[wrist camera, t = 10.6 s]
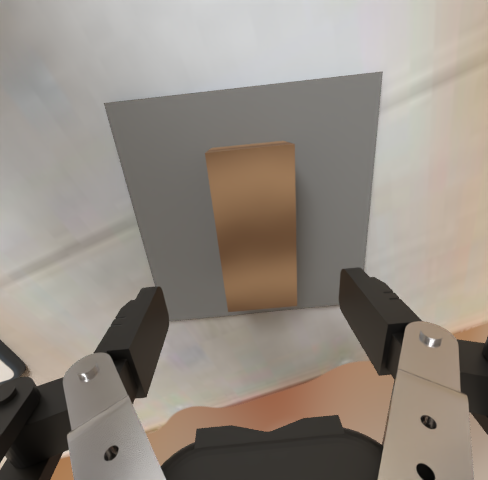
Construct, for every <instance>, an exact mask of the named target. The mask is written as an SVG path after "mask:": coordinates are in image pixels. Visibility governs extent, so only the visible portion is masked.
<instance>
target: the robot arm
mask: <svg viewBox="0 0 488 480" xmlns="http://www.w3.org/2000/svg"><path fill="white" fill-rule="evenodd" d="M339 305H340V309H341V311H342V313H343V315H344V317H345V318H346V320H347V322H348V324H349V325H350V327H351V329H352V330H353V332H354V334H355V335H356V337H357V339H358V341H359V342H360V344H361V346H362V347H363V349H364V351H365V352H366V354H367V356H368V358H369V359H370V361H371V363H372V364H373V365H374V368H375V369H376V371H377V373H378V375H390V374H391V375H392V376H393V378H394V385H393V391H392V396H391V401H390V406H389V411H388V417H387V422H386V427H385V432H384V437H383V442H382V445H381V444H380V443H378V442H377V441H375V440H373V439H372V438H370V437H368V436H366V435H364V434H362V433H359V432H357V431H354V430H350V429H346V428H343V427H342V425H341V422H340V419H339V416H338V415H334V416H323V417H313V418H303V419H301V420H298V421H296V422H293V423H291V424H288V425H286V426H283V427H281V428H278V429H276V430H273V431H270V432H264V431H258V430H253V429H248V428H242V427H237V426H222V427H211V428H201V429H197V431H196V439H195V442H194V443H192V444H190V445H188V446H186V447H184V448H182V449H181V450H179V451H178V452H176V453H175V454H173V455H172V456H171V457H170V458H169V459H168V460H167V461H165V462H164V463H163V465H162V466H161V467H160V465H159V463H158V460H157V458H156V456H155V454H154V451H153V449H152V447H151V445H150V442H149V440H148V438H147V436H146V433H145V431H144V429H143V427H142V425H141V422H140V420H139V418H138V416H137V413H136V411H135V409H134V407H133V402H134V400H135V398H145V397H147V394H148V391H149V387H150V384H151V381H152V378H153V375H154V372H155V369H156V365H157V362H158V359H159V356H160V353H161V350H162V347H163V344H164V340H165V337H166V334H167V331H168V327H169V314H168V310H167V306H166V302H165V298H164V295H163V291H162V288H161V287H160V286H157V287H147V288H142V289H141V290H140V292H139V294H138V296H137V298H136V299H135V300H130V301H129V302H128V303H127V304H126V305H125V306H123V307H122V308H121V309H120V311H119V313H118V314H117V316H116V319H114V321H113V322H112V324H111V327H109V329H108V331H107V332H106V334H105V335H104V337H103V339H102V340H101V342H100V344H99V345H98V347H97V349H96V350H95V352H94V353H93V354H90V355H88V356H85V357H83V358H82V359H80V360H78V361H77V362H76V363H74V364H73V365H72V366H71V367H70V368H69V369H68V371H67V372H66V373H65V375H64V377H63V378H60V379H57V380H54V381H51V382H48V383H46V384H43V385H40V386H36V385H35V383H34V381H33V379H31V378H29V377H19V378H15V379H12V380H10V381H7V382H5V383H3V384H2V385H0V462H1V461H2V459H3V458H4V456H6V458H7V460H6V462H5V463H4V465H3V466H2V468H1V470H0V480H50V479H51V477H52V474H53V473H54V470H55V468H56V466H57V464H58V462H59V460H60V458H61V456H62V453H63V452H64V451H67V450H69V453H70V459H71V464H72V470H73V476H74V480H474V473H473V460H472V446H471V432H470V418H469V412H471V414H472V415H473V416H474V418H475V419H476V420H477V421H478V423H479V424H480V425H481V426H482V428H483V429H484V431H485V432H486V433H487V434H488V337H487V340H486V342H485V343H478V342H471V341H464V340H457V339H456V338H455V337H454V336H453V335H452V334H451V333H450V332H449V331H447V330H446V329H444V328H442V327H440V326H438V325H436V324H433V323H429V322H423V321H421V319H420V318H419V317H418V316H417V315H416V314H415V313H414V312H413V311H412V310H411V309H410V308H409V307H408V306H407V305H406V304H405V303H404V302H403V301H402V300H401V299H399V297H398V296H397V295H396V294H395V293H393V291H392V290H391V289H390V288H389V287H388V286H387V285H386V284H385V283H384V282H382V281H380V280H378V279H376V278H375V277H371V278H370V277H369V276H368V275H367V274H366V273H365V272H364V271H363V269H362V268H360V267H356V268H346V269H342V270H341V273H340V286H339Z"/></svg>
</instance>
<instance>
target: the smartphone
mask: <svg viewBox="0 0 488 480" xmlns="http://www.w3.org/2000/svg"><path fill="white" fill-rule="evenodd" d="M25 369H26V366H25V364H24V362H23V361H22V360H21V359H20V358H19V357H18V356H17V355H16V354H15V353H14V352H12V351H11V350H10V349H9V348H8V347H7V346H6V345H5V344H4V343H3V342H2V341H1V340H0V385H2V384H3V383H5V382H7V381H10V380H12V379H15V378H19V377H20V376H21V375H22V374H23V372H24V371H25Z"/></svg>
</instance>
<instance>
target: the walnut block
mask: <svg viewBox="0 0 488 480" xmlns="http://www.w3.org/2000/svg"><path fill="white" fill-rule="evenodd" d="M205 157H206V164H207V171H208V178H209V185H210V192H211V198H212V205H213V212H214V219H215V226H216V233H217V239H218V246H219V253H220V260H221V267H222V274H223V281H224V287H225V294H226V301H227V308H228V312H236V311H247V310H258V309H269V308H280V307H291V306H297V260H296V191H295V144H293V143H289V142H286V141H275V142H266V143H256V144H246V145H236V146H226V147H216V148H211V149H209V150H208V151H207V152H206V153H205Z"/></svg>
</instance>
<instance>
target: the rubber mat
mask: <svg viewBox="0 0 488 480" xmlns="http://www.w3.org/2000/svg"><path fill="white" fill-rule="evenodd" d="M382 73H383V72H375V73H366V74H357V75H348V76H339V77H331V78H322V79H313V80H304V81H295V82H287V83H278V84H269V85H260V86H252V87H243V88H234V89H225V90H216V91H208V92H199V93H190V94H181V95H172V96H164V97H155V98H146V99H137V100H128V101H120V102H111V103H104V105H105V109H106V112H107V116H108V120H109V123H110V127H111V130H112V134H113V137H114V141H115V144H116V148H117V152H118V155H119V159H120V162H121V166H122V169H123V173H124V176H125V180H126V184H127V187H128V191H129V194H130V198H131V201H132V205H133V208H134V212H135V216H136V219H137V223H138V226H139V230H140V233H141V237H142V241H143V244H144V248H145V251H146V255H147V258H148V262H149V265H150V269H151V273H152V276H153V280H154V283H155V287H157V286H160V287H161V288H162V291H163V295H164V298H165V302H166V306H167V310H168V314H169V321H179V320H189V319H199V318H209V317H220V316H230V315H240V314H250V313H261V312H271V311H281V310H291V309H302V308H312V307H322V306H332V305H339V286H340V273H341V270H342V269H346V268H356V267H360V268H362V269H363V271H364V263H365V253H366V242H367V232H368V221H369V210H370V200H371V189H372V179H373V168H374V158H375V147H376V136H377V126H378V115H379V105H380V94H381V84H382ZM275 141H286V142H289V143H293V144H295V191H296V260H297V306H291V307H280V308H269V309H258V310H247V311H236V312H228V308H227V301H226V294H225V287H224V281H223V274H222V267H221V260H220V253H219V246H218V239H217V233H216V226H215V219H214V212H213V205H212V198H211V192H210V185H209V178H208V171H207V164H206V157H205V153H206V152H207V151H208V150H209V149H211V148H216V147H226V146H236V145H246V144H256V143H266V142H275Z"/></svg>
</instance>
